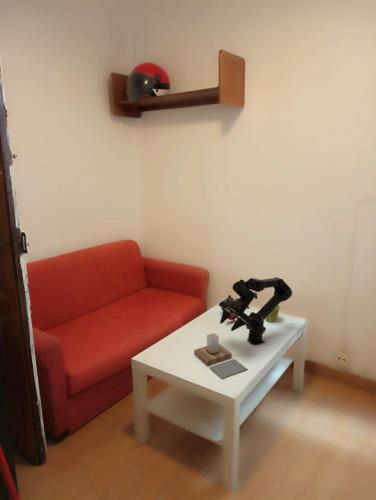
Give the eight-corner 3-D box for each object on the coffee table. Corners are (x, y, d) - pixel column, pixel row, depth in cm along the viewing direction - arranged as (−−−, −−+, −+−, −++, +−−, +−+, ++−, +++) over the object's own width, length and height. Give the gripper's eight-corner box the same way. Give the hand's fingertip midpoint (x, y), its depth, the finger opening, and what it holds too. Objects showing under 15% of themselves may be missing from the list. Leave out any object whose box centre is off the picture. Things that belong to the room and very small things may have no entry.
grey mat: (234, 359, 174) (234, 358, 174) (247, 370, 166) (247, 368, 166) (209, 368, 168) (209, 367, 168) (221, 379, 159) (221, 378, 159)
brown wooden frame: (218, 347, 186) (218, 342, 186) (231, 357, 176) (231, 353, 176) (194, 354, 180) (194, 350, 179) (207, 366, 170) (207, 361, 169)
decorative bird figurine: (221, 324, 211) (221, 308, 209) (244, 316, 221) (244, 301, 219) (225, 326, 209) (225, 310, 206) (247, 318, 219) (247, 302, 216)
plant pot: (279, 317, 219) (279, 303, 217) (279, 324, 210) (280, 310, 208) (263, 316, 221) (263, 303, 219) (263, 323, 212) (263, 309, 210)
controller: (234, 310, 231) (235, 295, 228) (223, 316, 222) (223, 301, 219) (229, 308, 233) (229, 293, 231) (217, 314, 224) (217, 299, 222)
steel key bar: (214, 353, 181) (214, 332, 178) (218, 357, 177) (218, 336, 175) (207, 355, 179) (207, 335, 176) (211, 359, 175) (211, 338, 173)
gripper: (224, 286, 184) (205, 311, 182) (247, 298, 169) (227, 326, 166) (236, 298, 190) (218, 322, 188) (260, 310, 174) (241, 337, 172)
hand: (225, 326), depth 178 cm, fingers open, 9 cm apart
